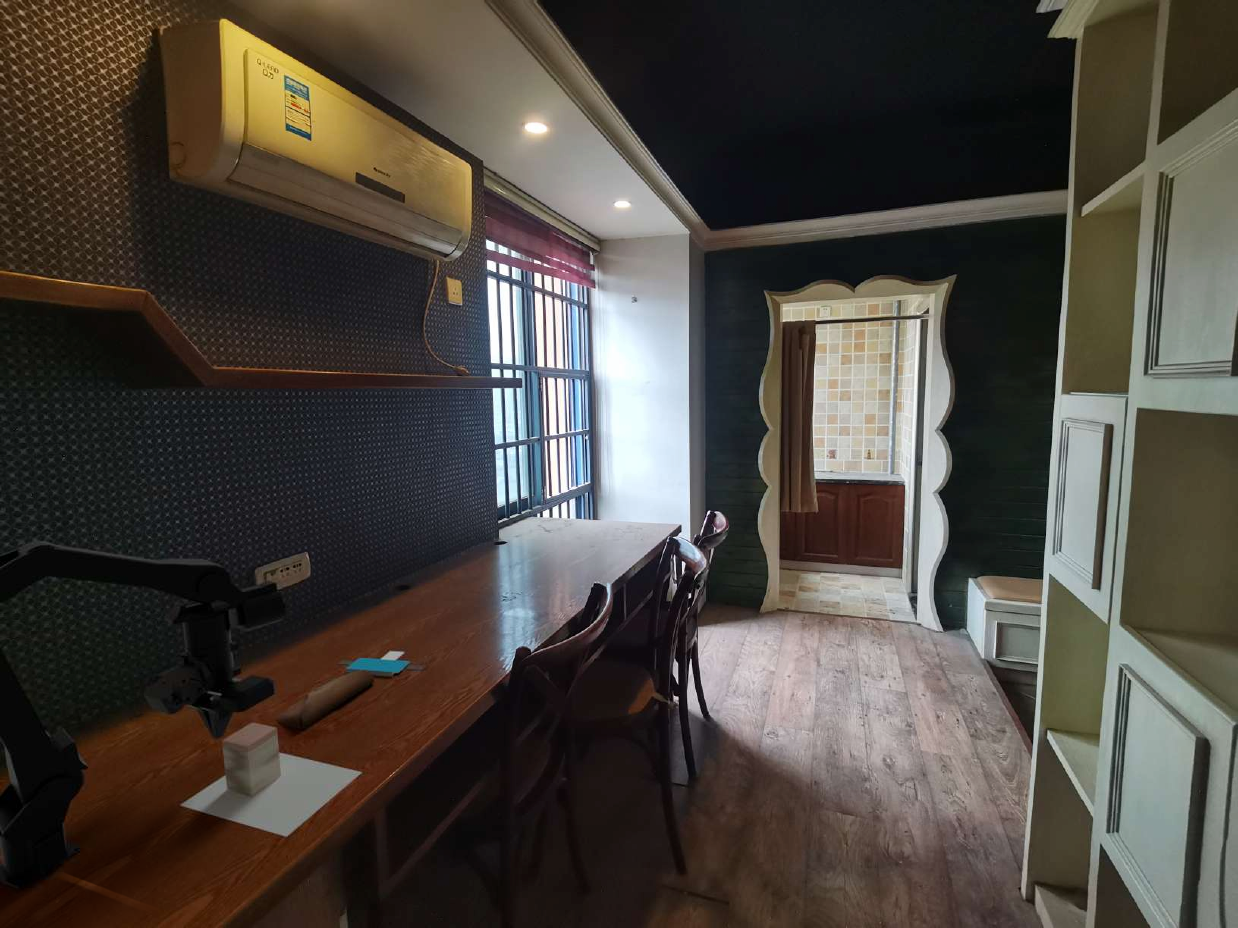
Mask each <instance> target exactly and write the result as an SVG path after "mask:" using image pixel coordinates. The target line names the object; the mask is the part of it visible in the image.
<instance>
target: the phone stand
mask: <svg viewBox="0 0 1238 928" xmlns="http://www.w3.org/2000/svg"><path fill="white" fill-rule="evenodd" d="M404 654H405V651H394V650H389V651H388V652H387V653H386V654H385V655H384V656H382V657H381V658H367V657H366V658H365V657H359V658H358V659H356V660H354V661H353V660H341V661H340V662H338V663H337V664H338V665H346V666H347V667H346V668H345V673H346V674H349V673H352V672H356V671H360V670H368V671H370V672H371V673H372V675H373V677H374V676H376V677H388V678H390V677H391V678H393V677H394V675H395V674H396V675H398V674H399V673H400V672H402V673H403V672H404V671H405V670H418V671H422V670H424V669H425V668H426V666H423V665H413V664H411V665H410V663H411V662H410V661H409V660H398V659H399V658H400V657H401V656H404ZM346 674H345V675H346Z"/></svg>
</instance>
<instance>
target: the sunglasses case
mask: <svg viewBox="0 0 1238 928" xmlns="http://www.w3.org/2000/svg"><path fill="white" fill-rule="evenodd" d="M374 683H375V678H374V676H373V675H372V673H371V672H370V671H368V670H360V671H356V672H352V673H349V674H344V675H342V676H339V677H336V678H335V679H332V680H331V681H329V682H327V683H325V684H322V685H320V686H318V687H317V688H315V689H313V690H311V691H310V692H308V693H307V694H306V697H304V698H302V699H301V700H299V701H297V702H296V703H294V704H293V705H291V706H290V707H288V709H285V711H283V712H282V713H280V714H279V715H278V716H276V718H274V719H273V721H275V722H277V723H278V724H281V725H285V726H288V727H290V728H295V729H298V730H299V729H300V730H302V731H305V730H307V729H308V728H310V727H311V726H312V725H314V724H315V723H317V722H318V721H319V720H320V719H322V718H323V717H324V716H326V715H327V714H329V713H330V712H331V711H332V710H333V709H335V708H337V707H338V706H340V705H342V704H343V703H344V702H346V701H348V700H349V699H350V698H352V697H353V696H355V695H357V694H359V692H361V691H362V690H364V689H366V688H368V687H369V686H371V685H374Z"/></svg>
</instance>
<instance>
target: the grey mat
mask: <svg viewBox="0 0 1238 928" xmlns="http://www.w3.org/2000/svg"><path fill="white" fill-rule="evenodd" d="M279 757H280V769H281V776H280V777H279V778H277V779H276V780H275V781H273V782H272V783H271V784H269V785H268V786H266V787H265V788H264V789H262V790H261V791H260V792H258V793H257V794H256V795H254V796H253V797H251V796H247V795H243V794H240V793H236V792H232V791H229V790H227V784H226V774H225V775H224V776H222V777H220V778H219V779H217V780H216V781H215V782H213V783H211V784H210V785H208V786H207V787H205V788H204V789H202V790H201V791H199V792H198V793H196V794H195V795H194V796H191V797H190V798H188V799H187V800H186V801H184V802H183V803H181V804H179V806H180V807H183V808H188V809H189V810H194V811H196V812H197V811H198V812H201V813H203V814H208V815H210V816H215V817H217V818H221V819H224V820H227V821H232V822H235V823H237V824H241V825H245V826H248V827H252V828H256V829H258V830H262V831H265V832H269V833H272V834H276V835H279V836H282V837H286V838H287V837H288V836H289V835H291V834H292V833H293V832H294V831H296V830H297V829H298V828H299V827H300V826H301V825H303V824H304V823H305V822H306V821H307V820H309V819H310V818H311V817H312V816H313V815H314V814H316V813H317V812H318V811H319V810H320V809H321V808H322V807H324V806H325V805H326V804H327V803H329V801H331V800H332V799H333V798H334V797H335V796H337V795H338V794H339V793H340V792H341V791H342V790H343V789H344V788H345V789H346V787H347V786H348V785H350V784H351V783H352V782H353V781H354V780H355V779H356V778H357V777H359V776H360V775H361V774H363V772H362V771H359V770H355V769H350V768H346V767H341V766H337V765H333V764H329V763H324V762H321V761H316V760H311V759H307V758H304V757H300V756H295V755H291V754H288V753H287V754H286V753H282V752H279Z"/></svg>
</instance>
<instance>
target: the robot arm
mask: <svg viewBox="0 0 1238 928" xmlns="http://www.w3.org/2000/svg"><path fill="white" fill-rule="evenodd" d="M47 577H53V578H54V577H55V578H60V579H62V578H63V579H68V580H69V579H70V580H77V581H84V582H85V581H87V582H95V583H102V584H103V583H104V584H112V585H119V586H126V587H127V586H129V587H135V588H145V589H152V590H156V591H158V592H163V593H165V594H169V595H172V596H174V597H178V598H181V599H185V600H188V601H190V602H191V601H193V602H195V604H191V605H188V606H185V605H183V604H182V603H180V602H177V603H175V605H174V607H173V608H171V610H170V611H168V613H166V614H165V615H164V617H163V618H164V620H165V621H167V622H169V623H171V624H172V625H174V626H175V625H180V624H182V627H183V636H184V637H183V638H184V647H185V651H183V652H181V653H178V657H177V660H176V661H177V665H176V666H173V667H171V668H169V669H167V670H165V671H162V672H160V673H158V674H156V675H155V676H154V678H153V680H152V681H151V682H150V686H149V687H147V689H145V691H144V692H143V696H144V698H145V699H146V701H147V702H148V704H149V706H150V707H151V709H153V711H154V712H161V713H166V714H167V715H175V714H177V713H179V712H180V711H182V710H183V709H184V707H185V706H188V707H190V708H193V709H195V710H196V712H197V713H198V715H199V716H200V718H201V719H202V722H203V723H204V725H205V727H206V729H207V731H208V732H209V734H210V735H211V736H210V737H212V739H214V740H220V739H221V738H223V737H224V735H225V733H226V730H227V728H228V726H229V723H230V721H231V720H232V719H231V718H232V716H233V715H234V713H237V714H239V713H243V712H246V711H248V710H250V709H251V708H253V707H254V706H257V705H258V704H260V703H262V702H263V701H266V700H267V699H269V698H270V697H272V696H274V695H275V693H276V690H275V688H276V687H275V680H274V679H272V678H269V677H266V676H262V675H255V674H250V675H249V676H247V677H245V678H241V679H240V678H235V677H237V676H239V675H241V674H242V668H241V667H240V666H234V664H235V663H234V657H233V652H234V651H235V652H236V651H237V650H239V649H240V647H239V646H240V645H239V642H236V641H232V635H231V633H232V632H231V627H233V628H234V629H237V628H238V629H239V630H240V631H241V632H243V633H245V632H246V633H247V632H248V631H251V630H255V629H259V628H261V627H265V626H267V625H271V624H274V623H277V622H281V621H283V620H284V619H285V616H286V612H287V611H286V604H285V603H286V602H284V599H283V596H282V594H281V593H280V590H278V585H277V583H276V582H275V581H271V580H267V581H264V582H263V581H262V582H261V583H259V584H256V585H253V586H249V587H244V588H239V587H238V586H236V585H235V584H233V583H232V577H231V574H230V572H229V570H228V569H227V568H226V567H225V566H222V565H219V564H217V563H214V562H211V561H209V560H206V559H204V558H168V559H151V558H143V557H138V556H131V555H125V554H117V553H112V552H104V551H97V550H92V549H85V548H79V547H74V546H73V547H72V546H67V545H66V546H65V545H59V544H54V543H51V542H49V541H46V540H35V541H29V542H27V543H25V544H24V545H22V546H20V547H17V548H15V549H13V550H11V551H9V552H5V553H2V554H0V604H2V603H4V602H6V601H8V600H10V599H12V598H13V597H15V596H16V595H18V594H20V593H21V592H23V591H24V590H26V589H27V588H29V587H30V586H32V585H34V584H35V583H37V582H39V581H41V580H43V579H45V578H47ZM216 601H219V602H218V603H216ZM212 603H213V604H212ZM230 625H231V626H230ZM0 740H1V742H2V744H3V748H4V755H5V761H6V766H7V771H8V776H9V780H10V782H8V784H7V785H6V786H5V787H4V788H3V790H2V791H1V792H0V853H1V859H2V865H0V883H2V884H4V885H7V886H10V887H12V888H14V889H16V890H23V889H25V888H27V887H28V886H31V885H32V884H33V883H35V882H37V881H38V880H40V879H41V878H43V877H44V876H46V875H47V874H49V873H51V872H52V871H54V870H55V868H56V867H59V866H60V865H61V864H63V863H64V862H66V861H68V860H69V859H71V858H73V857H74V856H76V855H78V854H79V853H80V852H81V851H83V848H82V846H80V845H77V844H74V843H71V842H70V841H69V842H68V841H67V839H66V838H67V837H66V832H65V831H66V830H65V822H66V821H65V820H66V817H67V814H68V811H69V808H70V805H71V802H72V801H73V800H74V798H75V797H76V796H77V795H78V794H79V793H80V791H81V789H82V788H83V786H84V785H85V782H86V781H85V775H84V772H83V771H85V770H88V769H89V766H88V764H87V763H86V762H85V761H84V759H83V758H82V757H81V755H80V754H79V752H78V747H77V745H76V742H75V741H74V740H73V738H72V737H71V736H70V735H69V734H68V732H67V731H66V730H65V729H64V728H61V729H58V730H57V731H56V732H54V733H53V734H51V735H50V733H48V732H47V730H46V729H45V728H44V726H43V723H42V722H41V720H40V719H39V717H38V714H37V713H36V711H35V708H34V707H33V705H32V703H31V702H30V699H29V698H28V696H27V693H25V690H24V688H23V687H22V685H21V683H20V681H19V679H18V677H17V676H16V673H15V672H14V670H13V668H12V666H11V663H10V662H9V661H8V658H7V657H6V655H5V653H4V651H3V649H2V647H1V646H0Z"/></svg>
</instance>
